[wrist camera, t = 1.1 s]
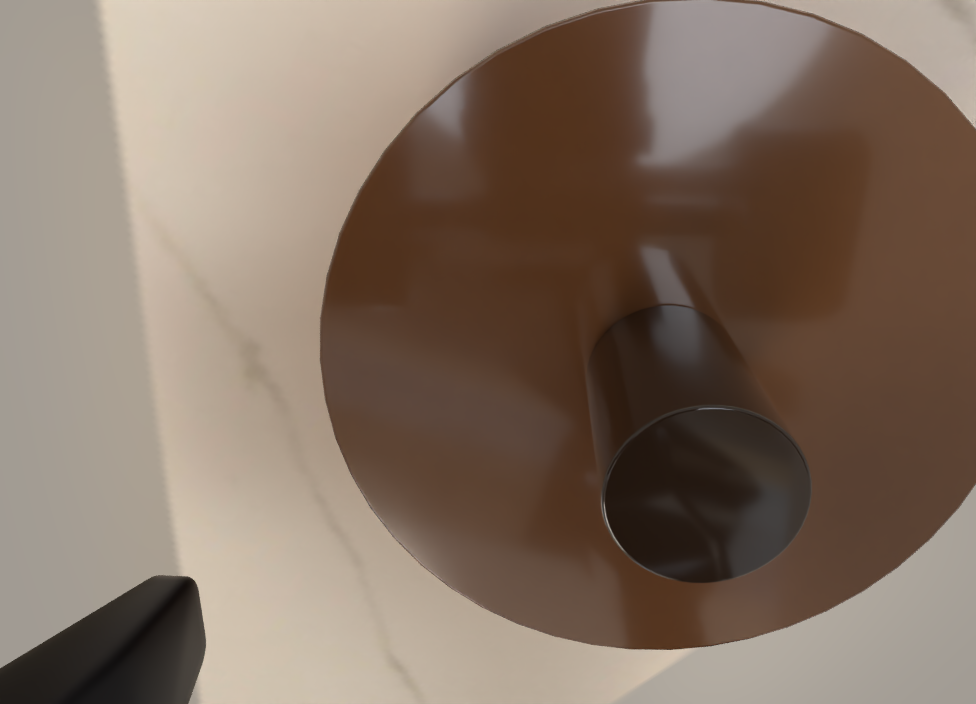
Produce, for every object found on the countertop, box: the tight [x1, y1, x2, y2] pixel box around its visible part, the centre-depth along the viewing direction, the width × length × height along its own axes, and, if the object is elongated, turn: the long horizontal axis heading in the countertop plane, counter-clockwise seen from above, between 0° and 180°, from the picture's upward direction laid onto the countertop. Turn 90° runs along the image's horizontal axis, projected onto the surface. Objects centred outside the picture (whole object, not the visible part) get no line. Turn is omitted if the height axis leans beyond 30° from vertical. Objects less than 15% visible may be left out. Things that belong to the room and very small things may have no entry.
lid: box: [320, 0, 976, 650], centre depth 12 cm, size 12×12×5 cm
